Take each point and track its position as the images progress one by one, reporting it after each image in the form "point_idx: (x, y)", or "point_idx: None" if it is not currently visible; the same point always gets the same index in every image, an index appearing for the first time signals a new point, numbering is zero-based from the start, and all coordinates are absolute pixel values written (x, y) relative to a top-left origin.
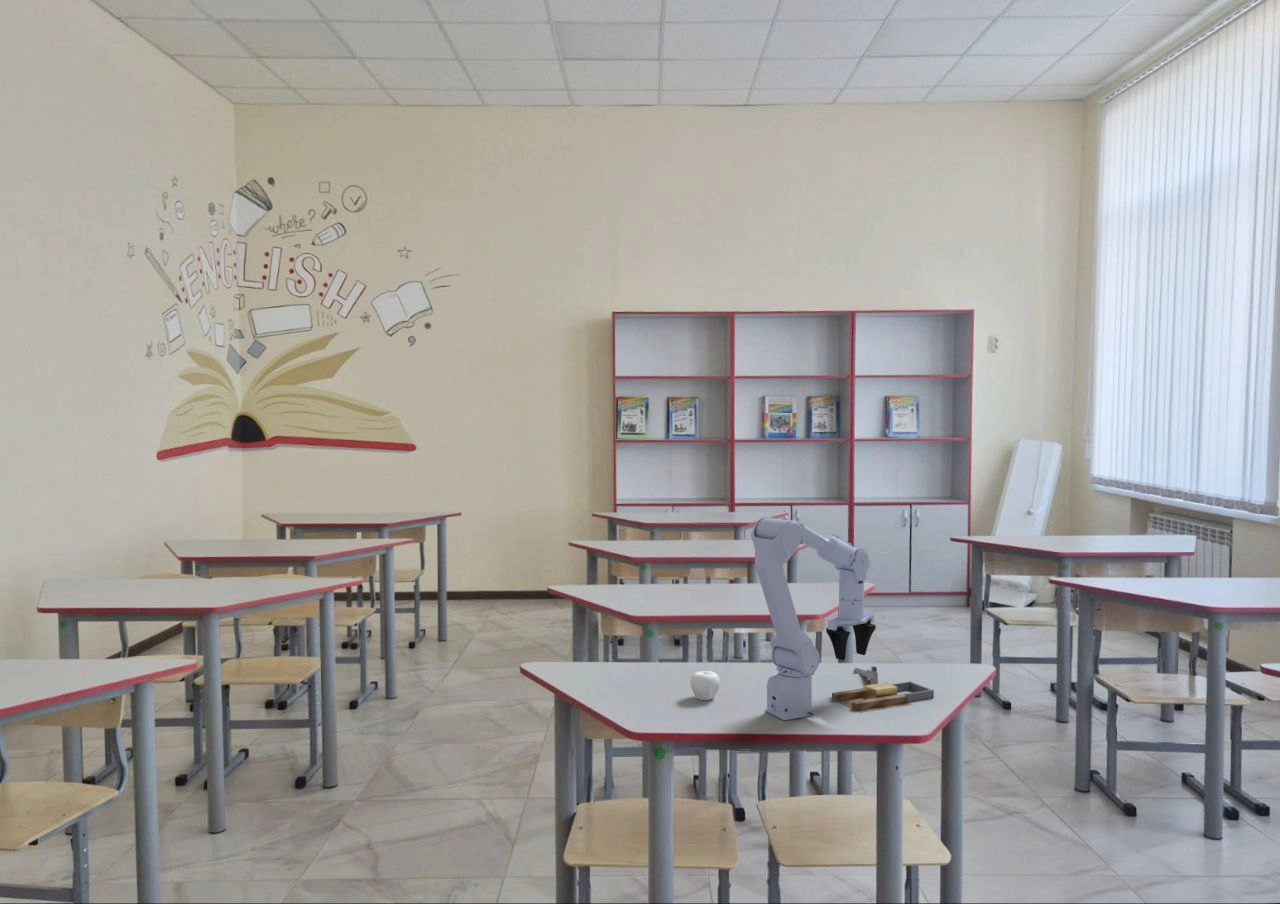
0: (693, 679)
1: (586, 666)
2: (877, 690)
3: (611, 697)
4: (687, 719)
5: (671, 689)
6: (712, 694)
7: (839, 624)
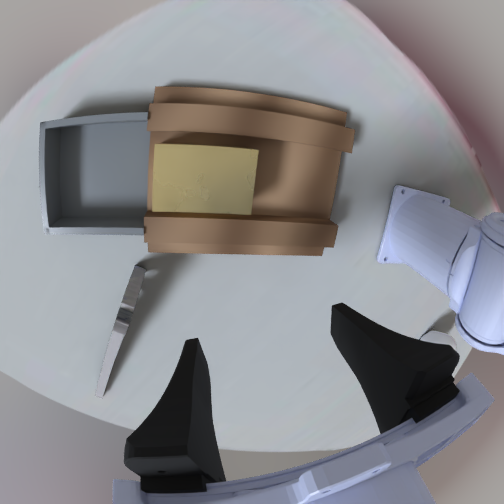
0: None
1: None
2: (251, 149)
3: None
4: None
5: None
6: (435, 333)
7: (466, 405)
